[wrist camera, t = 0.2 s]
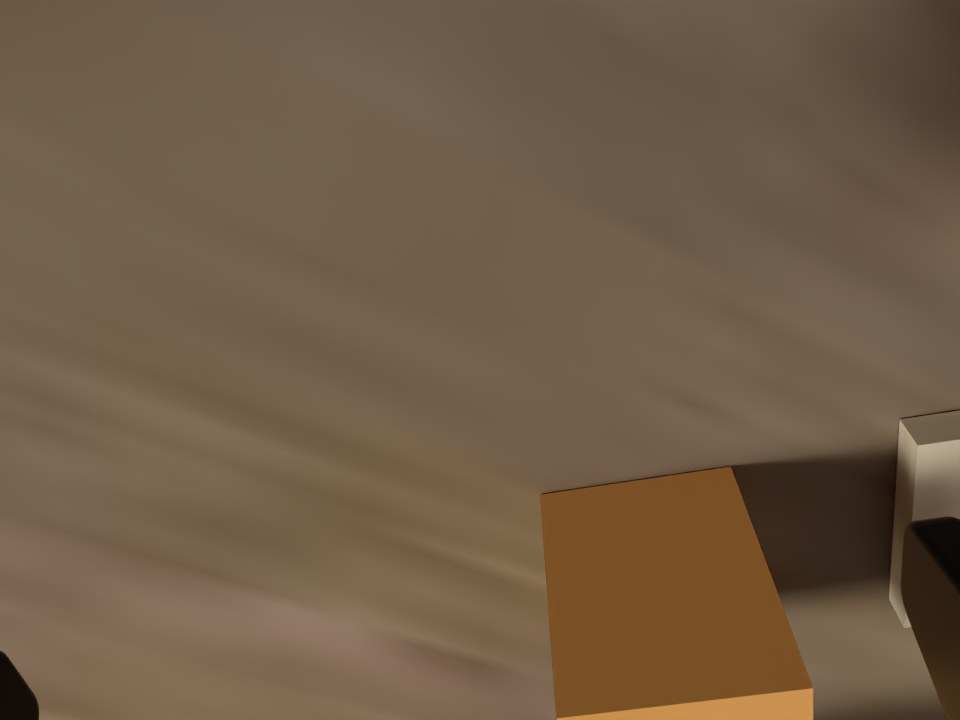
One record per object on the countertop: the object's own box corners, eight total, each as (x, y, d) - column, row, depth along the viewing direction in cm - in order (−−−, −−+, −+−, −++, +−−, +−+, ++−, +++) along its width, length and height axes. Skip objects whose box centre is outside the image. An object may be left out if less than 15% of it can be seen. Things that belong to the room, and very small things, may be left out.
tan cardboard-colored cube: (739, 600, 28) (813, 832, 22) (567, 622, 29) (589, 855, 22) (730, 466, 25) (813, 688, 19) (539, 494, 26) (556, 718, 19)
